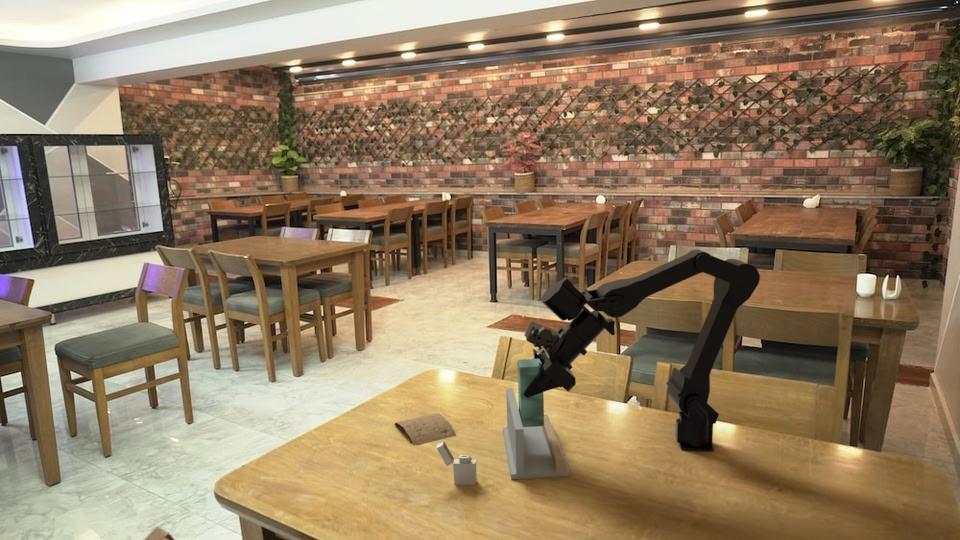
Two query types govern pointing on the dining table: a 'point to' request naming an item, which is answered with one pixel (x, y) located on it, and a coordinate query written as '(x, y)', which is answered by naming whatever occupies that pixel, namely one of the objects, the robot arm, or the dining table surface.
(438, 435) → the curved bark piece
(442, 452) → the lighter
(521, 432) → the grey bookend
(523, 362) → the teal block
